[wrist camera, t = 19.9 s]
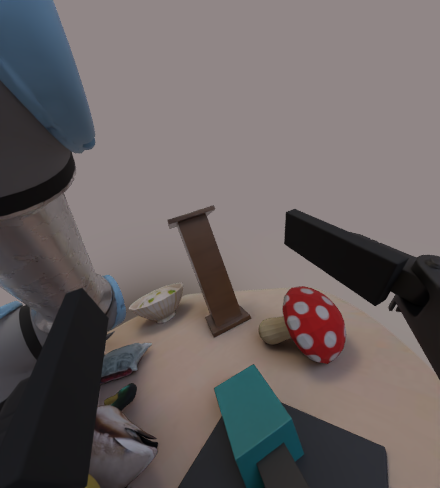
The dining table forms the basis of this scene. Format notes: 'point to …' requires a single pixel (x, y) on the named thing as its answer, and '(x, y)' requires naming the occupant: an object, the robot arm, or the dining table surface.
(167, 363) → the dining table surface
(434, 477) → the dining table surface
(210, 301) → the stand
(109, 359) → the packaged food
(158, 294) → the bowl
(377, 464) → the mat
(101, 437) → the decorative duck model
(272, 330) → the decorative mushroom
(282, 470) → the teal long block
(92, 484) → the fruit
